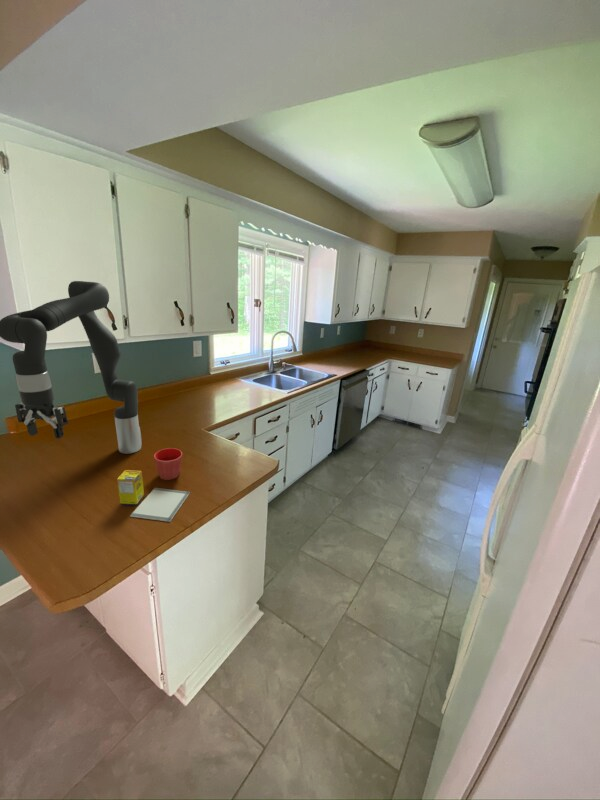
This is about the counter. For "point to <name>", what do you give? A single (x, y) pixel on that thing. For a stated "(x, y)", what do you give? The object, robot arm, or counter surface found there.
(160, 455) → the flower pot
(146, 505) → the mat
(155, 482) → the counter surface
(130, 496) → the supplement box
